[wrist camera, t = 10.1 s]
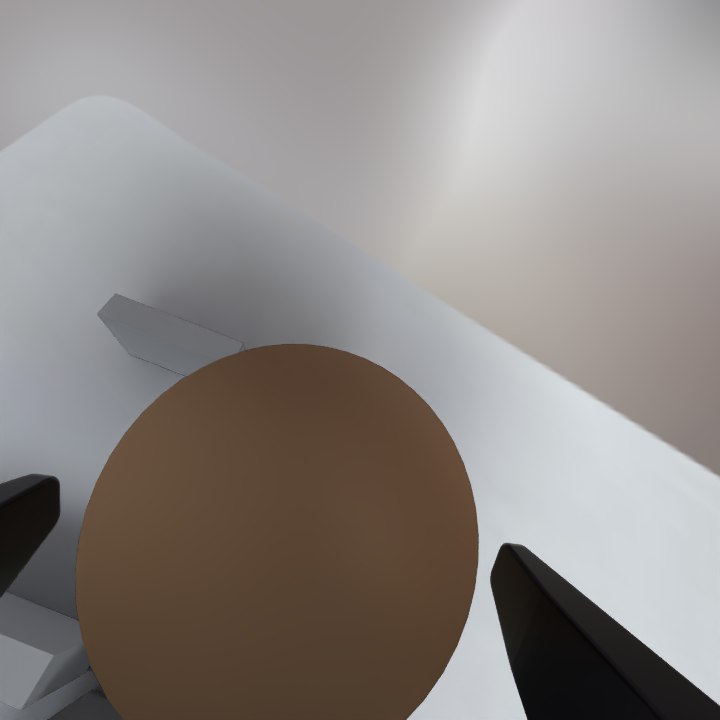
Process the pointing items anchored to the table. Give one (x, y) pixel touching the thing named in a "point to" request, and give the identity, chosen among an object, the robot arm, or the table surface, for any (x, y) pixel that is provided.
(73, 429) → the table surface
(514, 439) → the table surface
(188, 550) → the walnut post
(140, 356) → the channel
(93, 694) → the gray open box
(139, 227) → the table surface
